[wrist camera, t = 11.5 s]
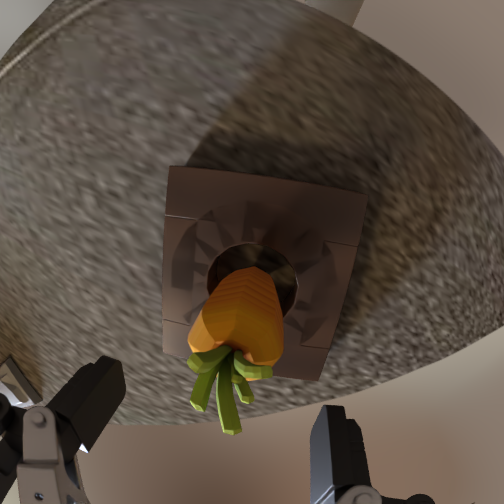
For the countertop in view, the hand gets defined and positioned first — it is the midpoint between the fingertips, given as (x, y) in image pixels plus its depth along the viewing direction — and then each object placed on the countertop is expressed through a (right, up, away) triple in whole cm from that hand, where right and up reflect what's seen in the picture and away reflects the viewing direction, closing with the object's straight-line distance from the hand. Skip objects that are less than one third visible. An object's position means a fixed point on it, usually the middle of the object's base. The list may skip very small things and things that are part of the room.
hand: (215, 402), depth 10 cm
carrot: (+2, +4, +14) cm, 15 cm away
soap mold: (-49, -23, +28) cm, 61 cm away
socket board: (+2, +4, +14) cm, 15 cm away
